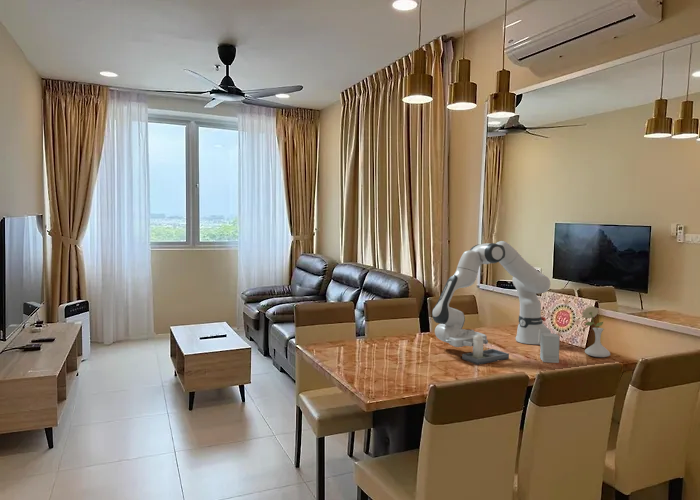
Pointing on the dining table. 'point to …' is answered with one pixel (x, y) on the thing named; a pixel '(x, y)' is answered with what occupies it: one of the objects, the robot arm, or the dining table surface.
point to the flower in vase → (597, 347)
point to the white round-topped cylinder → (478, 346)
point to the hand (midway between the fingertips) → (479, 343)
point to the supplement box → (549, 347)
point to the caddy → (486, 356)
